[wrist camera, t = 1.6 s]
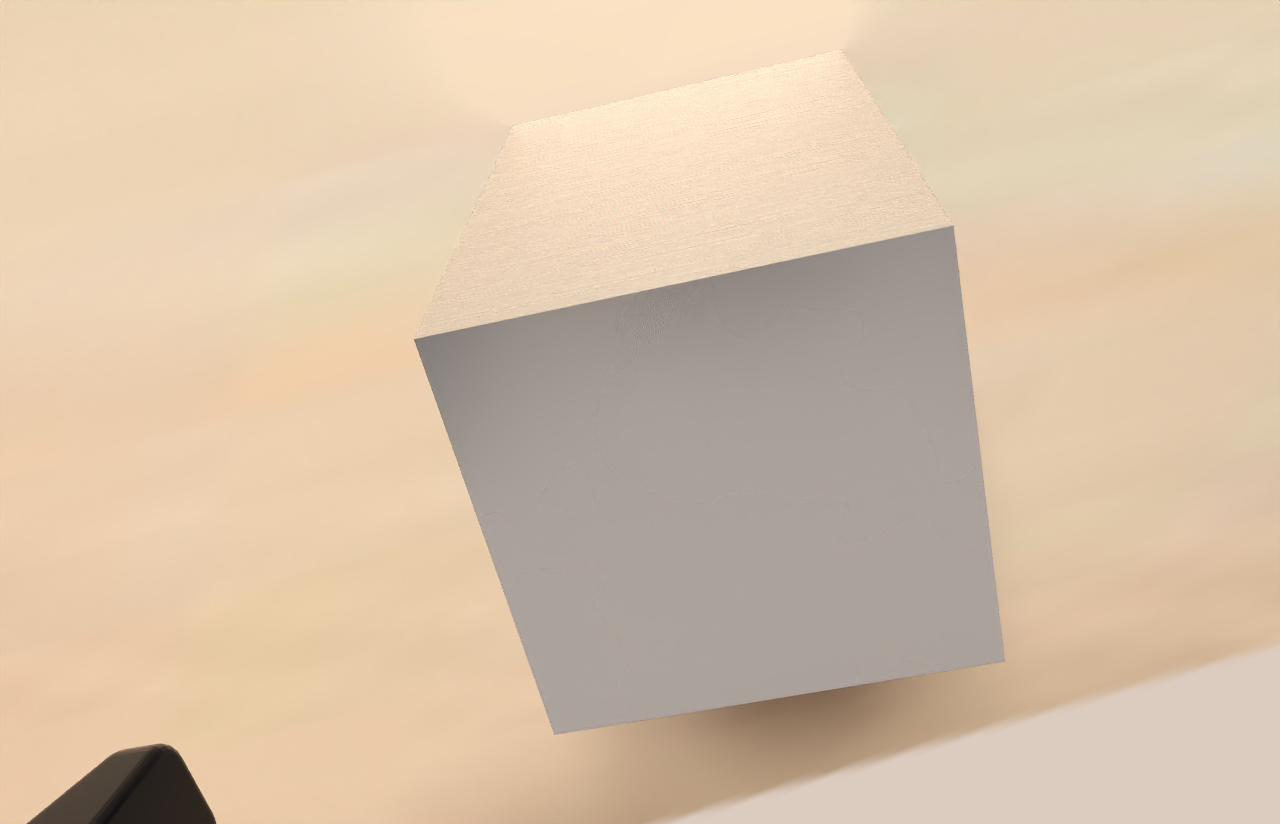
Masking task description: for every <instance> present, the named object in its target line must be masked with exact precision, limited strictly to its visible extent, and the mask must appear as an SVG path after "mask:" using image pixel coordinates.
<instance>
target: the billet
mask: <svg viewBox="0 0 1280 824" xmlns="http://www.w3.org/2000/svg"><path fill="white" fill-rule="evenodd" d="M414 341H415V343H416V346H417V349H418V352H419V355H420V357H421V360H422V363H423V366H424V369H425V372H426V374H427V377H428V380H429V383H430V386H431V388H432V391H433V394H434V397H435V400H436V403H437V405H438V408H439V411H440V414H441V417H442V419H443V422H444V425H445V428H446V431H447V433H448V436H449V439H450V442H451V445H452V448H453V450H454V453H455V456H456V459H457V462H458V464H459V467H460V470H461V473H462V476H463V479H464V481H465V484H466V487H467V490H468V493H469V495H470V498H471V501H472V504H473V507H474V509H475V512H476V515H477V518H478V521H479V524H480V526H481V529H482V532H483V535H484V538H485V540H486V543H487V546H488V549H489V552H490V555H491V557H492V560H493V563H494V566H495V569H496V571H497V574H498V577H499V580H500V583H501V586H502V588H503V591H504V594H505V597H506V600H507V602H508V605H509V608H510V611H511V614H512V616H513V619H514V622H515V625H516V628H517V631H518V633H519V636H520V639H521V642H522V645H523V647H524V650H525V653H526V656H527V659H528V662H529V664H530V667H531V670H532V673H533V676H534V678H535V681H536V684H537V687H538V690H539V692H540V695H541V698H542V701H543V704H544V707H545V709H546V712H547V715H548V718H549V721H550V723H551V726H552V729H553V732H554V735H556V734H562V733H568V732H574V731H581V730H587V729H593V728H599V727H605V726H611V725H617V724H624V723H630V722H636V721H642V720H648V719H654V718H660V717H666V716H673V715H679V714H685V713H691V712H697V711H703V710H709V709H715V708H722V707H728V706H734V705H740V704H746V703H752V702H758V701H765V700H771V699H777V698H783V697H789V696H795V695H801V694H807V693H814V692H820V691H826V690H832V689H838V688H844V687H850V686H857V685H863V684H869V683H875V682H881V681H887V680H893V679H899V678H906V677H912V676H918V675H924V674H930V673H936V672H942V671H949V670H955V669H961V668H967V667H973V666H979V665H985V664H991V663H998V662H1004V661H1005V659H1004V650H1003V642H1002V633H1001V625H1000V616H999V608H998V599H997V591H996V582H995V574H994V565H993V557H992V549H991V540H990V532H989V523H988V515H987V506H986V498H985V489H984V481H983V472H982V464H981V455H980V447H979V439H978V430H977V422H976V413H975V405H974V396H973V388H972V379H971V371H970V362H969V354H968V345H967V337H966V328H965V320H964V312H963V303H962V295H961V286H960V278H959V269H958V261H957V252H956V244H955V235H954V227H953V224H952V223H951V221H950V219H949V218H948V216H947V215H946V213H945V211H944V210H943V208H942V207H941V205H940V204H939V202H938V200H937V199H936V197H935V196H934V194H933V193H932V191H931V189H930V188H929V186H928V185H927V183H926V181H925V180H924V178H923V177H922V175H921V174H920V172H919V170H918V169H917V167H916V166H915V164H914V163H913V161H912V159H911V158H910V156H909V155H908V153H907V151H906V150H905V148H904V147H903V145H902V144H901V142H900V140H899V139H898V137H897V136H896V134H895V133H894V131H893V129H892V128H891V126H890V125H889V123H888V121H887V120H886V118H885V117H884V115H883V114H882V112H881V110H880V109H879V107H878V106H877V104H876V103H875V101H874V99H873V98H872V96H871V95H870V93H869V91H868V90H867V88H866V87H865V85H864V84H863V82H862V80H861V79H860V77H859V76H858V74H857V72H856V71H855V69H854V68H853V66H852V65H851V63H850V61H849V60H848V58H847V57H846V55H845V54H844V52H843V50H842V49H840V50H836V51H832V52H827V53H823V54H819V55H814V56H810V57H806V58H802V59H797V60H793V61H789V62H784V63H780V64H776V65H771V66H767V67H763V68H758V69H754V70H750V71H746V72H741V73H737V74H733V75H728V76H724V77H720V78H715V79H711V80H707V81H703V82H698V83H694V84H690V85H685V86H681V87H677V88H672V89H668V90H664V91H659V92H655V93H651V94H647V95H642V96H638V97H634V98H629V99H625V100H621V101H616V102H612V103H608V104H603V105H599V106H595V107H591V108H586V109H582V110H578V111H573V112H569V113H565V114H560V115H556V116H552V117H548V118H543V119H539V120H535V121H530V122H526V123H522V124H517V125H513V126H512V128H511V130H510V132H509V134H508V137H507V139H506V141H505V143H504V145H503V147H502V150H501V152H500V154H499V156H498V158H497V160H496V163H495V165H494V167H493V169H492V171H491V173H490V176H489V178H488V180H487V182H486V184H485V186H484V189H483V191H482V193H481V195H480V197H479V199H478V202H477V204H476V206H475V208H474V210H473V212H472V215H471V217H470V219H469V221H468V223H467V225H466V228H465V230H464V232H463V234H462V236H461V238H460V241H459V243H458V245H457V247H456V249H455V251H454V254H453V256H452V258H451V260H450V262H449V264H448V267H447V269H446V271H445V273H444V275H443V277H442V280H441V282H440V284H439V286H438V288H437V290H436V293H435V295H434V297H433V299H432V301H431V303H430V306H429V308H428V310H427V312H426V314H425V316H424V318H423V321H422V323H421V325H420V327H419V329H418V331H417V334H416V336H415V338H414Z"/></svg>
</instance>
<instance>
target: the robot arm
mask: <svg viewBox="0 0 1280 824" xmlns="http://www.w3.org/2000/svg"><path fill="white" fill-rule="evenodd" d="M27 824H216V821H215V818H214V815H213V813H212V811H211V809H210V808H209V806H208V804H207V802H206V800H205V798H204V797H203V795H202V793H201V791H200V789H199V788H198V786H197V784H196V782H195V780H194V779H193V777H192V775H191V773H190V771H189V770H188V768H187V766H186V764H185V762H184V760H183V759H182V757H181V755H180V754H179V753H178V751H177V750H175V749H174V748H173V747H171V746H170V745H166V744H154V745H148V746H142V747H136V748H130V749H125V750H121V751H118V752H116V753H114V754H112V755H111V756H109V757H108V758H107V759H105V760H104V761H103V762H102V763H101V764H99V765H98V766H97V767H96V768H94V769H93V770H92V771H91V772H90V773H88V774H87V775H86V776H85V777H83V778H82V779H81V780H80V781H78V782H77V783H76V784H75V785H74V786H72V787H71V788H70V789H69V790H67V791H66V792H65V793H64V794H63V795H61V796H60V797H59V798H58V799H56V800H55V801H54V802H53V803H52V804H50V805H49V806H48V807H47V808H45V809H44V810H43V811H42V812H41V813H39V814H38V815H37V816H36V817H34V818H33V819H32V820H31V821H30V822H28V823H27Z"/></svg>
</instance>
